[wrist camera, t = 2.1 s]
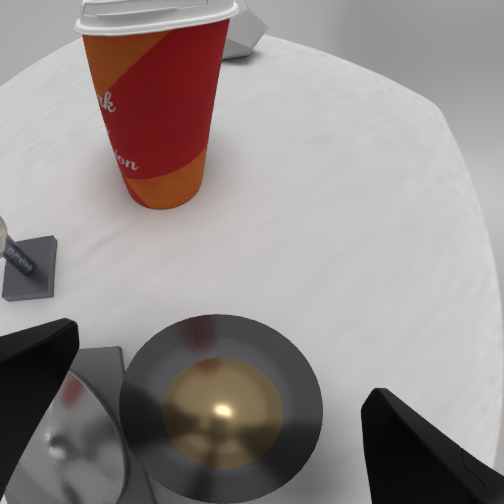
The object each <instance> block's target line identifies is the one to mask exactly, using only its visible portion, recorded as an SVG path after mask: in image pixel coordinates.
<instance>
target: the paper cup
mask: <svg viewBox="0 0 504 504" xmlns="http://www.w3.org/2000/svg"><path fill="white" fill-rule="evenodd" d="M238 12H239V7H238V4H237V3H236V2H235V1H233V0H83V2H82V4H81V11H80V18H79V19H78V20H77V21H76V24H75V26H74V29H75V31H76V32H77V33H79V34H82V36H83V41H84V46H85V50H86V55H87V59H88V63H89V68H90V72H91V76H92V80H93V84H94V88H95V91H96V95H97V99H98V102H99V106H100V110H101V113H102V116H103V120H104V123H105V126H106V130H107V133H108V136H109V139H110V142H111V145H112V148H113V151H114V154H115V157H116V160H117V163H118V165H119V168H120V171H121V174H122V176H123V179H124V181H125V184H126V186H127V189H128V191H129V193H130V195H131V196H132V198H133V199H134V200H135V201H136V202H137V203H139V204H141V205H142V206H145V207H147V208H151V209H170V208H174V207H177V206H179V205H182V204H184V203H185V202H187V201H188V200H190V199H191V198H192V197H193V196H194V195H195V194H196V192H197V191H198V189H199V187H200V184H201V181H202V176H203V170H204V164H205V157H206V151H207V144H208V138H209V131H210V125H211V118H212V112H213V106H214V100H215V94H216V89H217V83H218V77H219V72H220V67H221V61H222V56H223V51H224V46H225V41H226V37H227V32H228V27H229V23H230V18H231V17H233V16H235V15H236V14H238Z"/></svg>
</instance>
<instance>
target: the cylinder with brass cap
mask: <svg viewBox="0 0 504 504" xmlns="http://www.w3.org/2000/svg"><path fill="white" fill-rule="evenodd" d="M119 415H120V422H121V427H122V431H123V434H124V437H125V440H126V442H127V444H128V446H129V449H130V450H131V452H132V454H133V455H134V457H135V458H136V460H137V461H138V462H139V464H140V465H141V466H142V467H143V469H144V470H145V471H146V472H147V473H148V474H149V475H151V476H152V477H153V478H154V479H155V480H156V481H158V482H159V483H160V484H162V485H163V486H165V487H166V488H168V489H170V490H172V491H174V492H175V493H177V494H180V495H182V496H185V497H187V498H190V499H194V500H198V501H202V502H208V503H217V504H228V503H239V502H245V501H249V500H253V499H256V498H260V497H262V496H264V495H267V494H269V493H271V492H273V491H275V490H276V489H278V488H280V487H282V486H283V485H284V484H286V483H287V482H288V481H289V480H291V479H292V478H293V477H294V476H295V475H296V474H297V473H298V472H299V471H300V470H301V469H302V468H303V466H304V465H305V464H306V462H307V461H308V460H309V458H310V456H311V454H312V452H313V451H314V449H315V446H316V444H317V441H318V439H319V435H320V431H321V427H322V418H323V404H322V397H321V391H320V387H319V384H318V381H317V378H316V376H315V374H314V372H313V370H312V368H311V366H310V364H309V363H308V361H307V360H306V358H305V357H304V355H303V354H302V353H301V352H300V351H299V350H298V348H297V347H296V346H295V345H294V344H293V343H291V342H290V341H289V340H288V339H287V338H286V337H284V336H283V335H282V334H280V333H279V332H277V331H276V330H274V329H272V328H270V327H268V326H267V325H264V324H262V323H260V322H257V321H255V320H251V319H248V318H244V317H240V316H233V315H221V314H213V315H202V316H197V317H192V318H188V319H185V320H183V321H180V322H177V323H175V324H173V325H171V326H169V327H167V328H165V329H163V330H162V331H160V332H159V333H157V334H156V335H154V336H153V337H152V338H151V339H150V340H149V341H148V342H146V343H145V344H144V346H143V347H142V348H141V349H140V350H139V351H138V352H137V354H136V355H135V357H134V358H133V360H132V361H131V363H130V365H129V367H128V369H127V371H126V373H125V376H124V379H123V382H122V386H121V391H120V397H119Z"/></svg>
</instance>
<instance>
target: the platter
mask: <svg viewBox="0 0 504 504" xmlns="http://www.w3.org/2000/svg"><path fill="white" fill-rule="evenodd" d="M127 476H128V458H127V452H126V447H125V443H124V440H123V436H122V433H121V431H120V429H119V426H118V424H117V422H116V420H115V418H114V416H113V414H112V412H111V411H110V409H109V408H108V406H107V405H106V403H105V402H104V400H103V399H102V398H101V397H100V395H99V394H98V393H97V392H96V391H95V390H94V389H93V387H92V386H91V385H90V384H89V383H88V382H86V381H85V380H84V379H83V378H82V377H81V376H79V375H78V374H76V373H75V372H74V371H72V370H71V369H69V371H68V373H67V375H66V377H65V379H64V381H63V383H62V385H61V387H60V389H59V391H58V393H57V394H56V396H55V398H54V399H53V401H52V403H51V404H50V406H49V408H48V409H47V411H46V413H45V414H44V416H43V418H42V420H41V421H40V423H39V425H38V427H37V428H36V430H35V432H34V434H33V436H32V437H31V439H30V441H29V443H28V445H27V447H26V449H25V451H24V453H23V454H22V456H21V458H20V460H19V462H18V464H17V466H16V468H15V470H14V472H13V474H12V477H11V479H10V481H9V483H8V485H7V487H6V489H7V491H8V492H9V493H10V494H11V495H12V496H13V497H14V498H15V499H16V500H18V501H19V502H20V503H21V504H116V503H117V502H118V500H119V499H120V497H121V496H122V494H123V491H124V489H125V486H126V482H127Z"/></svg>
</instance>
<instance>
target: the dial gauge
mask: <svg viewBox="0 0 504 504" xmlns="http://www.w3.org/2000/svg"><path fill="white" fill-rule="evenodd" d="M56 247H57V240H56V239H55V238H54V236H53V235H52V236H46V237H40V238H35V239H29V240H24V241H18V242H14V241H13V239H12V238H11V237H10V236H9V235H8V234H7V226H6V224H5V222H4V220H3V219H2V218H1V216H0V259H1V258H2V256H3V257H4V258H5V259H6V265H5V273H4V282H3V292H2V298H4V299H5V300H7V301H18V300H28V299H38V298H48V297H53V290H54V271H55V258H56Z"/></svg>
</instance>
